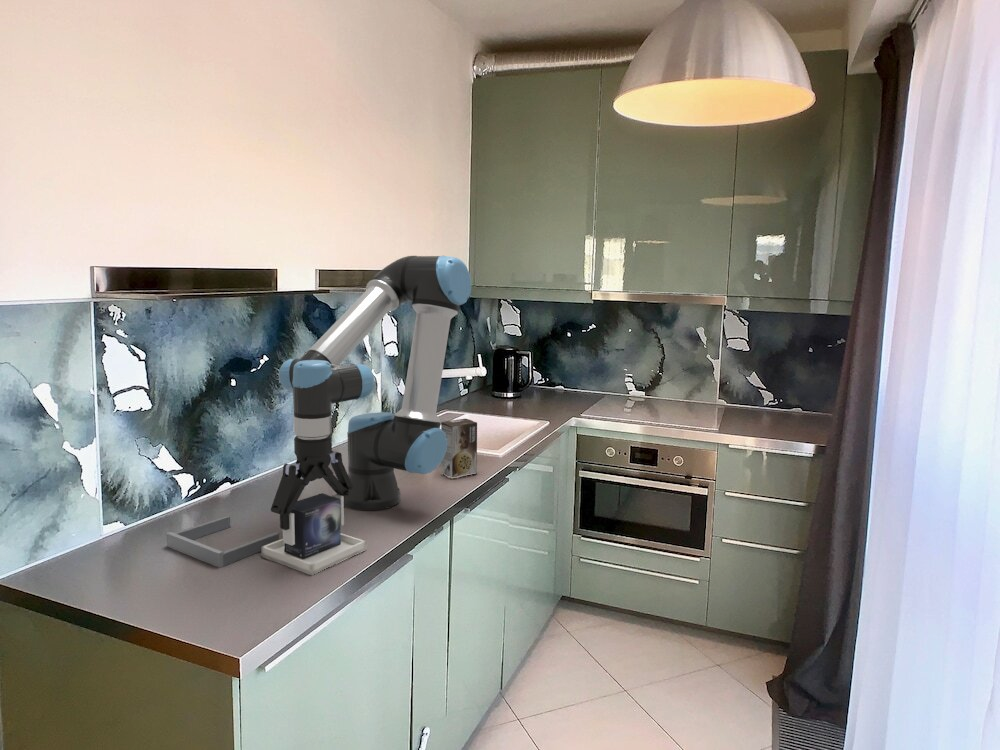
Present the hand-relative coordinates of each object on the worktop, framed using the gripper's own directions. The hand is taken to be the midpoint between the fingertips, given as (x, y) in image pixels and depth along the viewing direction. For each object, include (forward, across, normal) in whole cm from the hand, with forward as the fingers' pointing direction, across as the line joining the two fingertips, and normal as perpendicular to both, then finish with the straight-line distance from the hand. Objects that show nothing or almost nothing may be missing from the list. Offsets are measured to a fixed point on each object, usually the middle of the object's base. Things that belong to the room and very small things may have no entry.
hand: (314, 533), depth 147 cm
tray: (+4, 0, 0) cm, 4 cm away
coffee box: (+5, -65, -10) cm, 66 cm away
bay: (+5, +8, -19) cm, 21 cm away
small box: (+4, 0, -1) cm, 4 cm away
